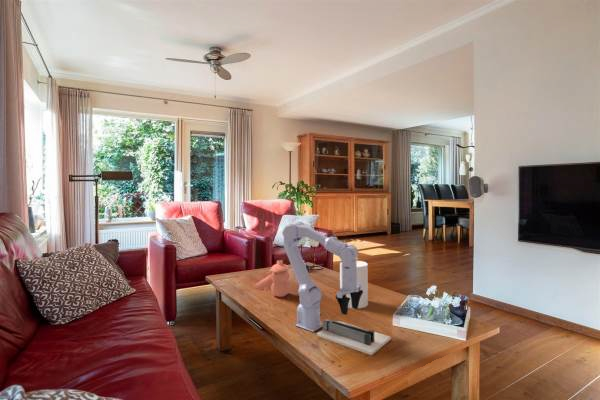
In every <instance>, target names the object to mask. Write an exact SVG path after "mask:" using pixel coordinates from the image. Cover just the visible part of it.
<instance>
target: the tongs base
mask: <svg viewBox="0 0 600 400" xmlns="http://www.w3.org/2000/svg"><path fill="white" fill-rule="evenodd" d="M331 321H333V320H331V319H329V318H325V319H324V320H323V321H322V324H323V327H322V330H324V331H329V332H330V333H333V334H336V335H339V336H342V337H345V338H348V339H351V340H354V341H357V342H360V343H363V344H366V345H369V346H370V345H371V335H370V334H367V333H363V332H360V331H357V330H353V329H350V328H347V327H344V326H341V325H337V324H334V323H332V322H331Z"/></svg>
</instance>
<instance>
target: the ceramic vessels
mask: <svg viewBox="0 0 600 400" xmlns="http://www.w3.org/2000/svg"><path fill="white" fill-rule="evenodd" d="M283 261H284V260H276V263H275V264H273V265H272V266H271V268H270V270H269V275H267V276H266V277H265V278H263V279H261V280H260V281H258V282H257V283H254V285H253V286H254V288H255V290H259V291H264V290H266V291H268V290H271V293H272V294H273V295H274V296H275V297H278V298H279V297H280V298H283V297H285V296H286V295H288V294H289V292H290V291H291V290H290V283H289V282H288V281H289V279H290V274H289V273H290V272H288V270H289V266H288V265H287V264H286V263H284V262H283ZM268 292H269V291H268Z"/></svg>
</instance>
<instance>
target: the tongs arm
mask: <svg viewBox="0 0 600 400" xmlns="http://www.w3.org/2000/svg"><path fill="white" fill-rule="evenodd" d="M338 321H339V320H332V321H331V322H332V323H334V324H337V325H341V326H344V327H347V328H350V329H353V330H357V331H360V332H363V333H367V334H370V335H371V342H374V332H375V331H373V330H370V329H366V328H363V327H360V328H359V326H357V327H356V325H353V326H352V324H350V325H348V324H349V323H347V324H345V323H346V322H343V323H341V322H342V321H340V322H338Z"/></svg>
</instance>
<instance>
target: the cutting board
mask: <svg viewBox="0 0 600 400" xmlns="http://www.w3.org/2000/svg"><path fill="white" fill-rule="evenodd" d="M337 321H338V322H341V323H345V324H348V325H352V324H349V323H346V322H344V321H339V320H337ZM352 326H354V325H352ZM355 326H356V325H355ZM356 327H359V326H356ZM359 328H361V327H359ZM316 337H319V338H322V339H325V340H327V341H330V342H333V343H336V344H338V345H342V346H344V347H347V348H350V349H353V350H355V351H358V352H360V353H361V352H362V353H365V354H367V355H370V356H373V355H374V354H375V353H377V352H378V351H379V350H380V349H381V348H382V347H383V346H385V345H386V344H387V343H389V342H390V341H391V340H392V337H391V336H390V335H386V334H383V333H380V332H377V331H374V342H371V345H370V346H369V345H366V344H363V343H360V342H357V341H354V340H351V339H348V338H345V337H342V336H339V335H336V334H333V333H330V332H329V331H324V330H323V329H322V330H320V331H318V332H317V333H316Z"/></svg>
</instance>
